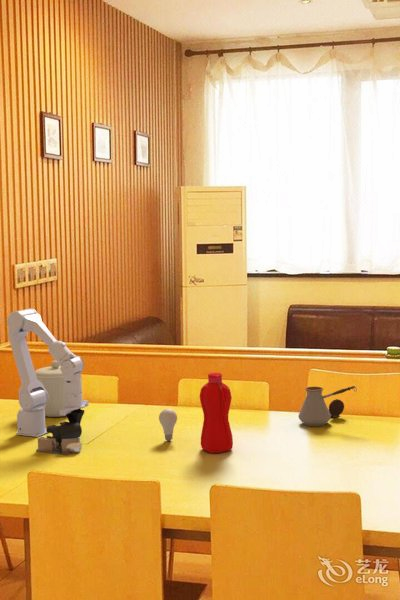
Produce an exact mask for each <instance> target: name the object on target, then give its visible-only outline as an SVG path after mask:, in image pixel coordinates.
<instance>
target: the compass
mask: <svg viewBox="0 0 400 600" xmlns="http://www.w3.org/2000/svg"><path fill="white" fill-rule="evenodd" d="M328 410H329V412H330V415H331V418H330V419H334V418H338V417H340V415H341V414H342V413H343V412H344V410H345V403H344V402H343V400H341V399H338V398H335V399H333V400H331V402H330V403H329V406H328Z"/></svg>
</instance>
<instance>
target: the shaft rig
mask: <svg viewBox="0 0 400 600" xmlns="http://www.w3.org/2000/svg"><path fill="white" fill-rule="evenodd" d="M58 445H59V441H58V439H57V438H47V437H44V436H40V437H37V448H36V450H35V451H36V452H39V453H40V452H41V453H46V454H47V453H48V454H54V455H55V454H56V455H57V454H58V455H64V456H68V455H70V454H77V453H78V454H79V453H81V451H82V446H83V445H82V442H81V437H79V438H72V439H62V443H61V445H60V447H59V446H58Z"/></svg>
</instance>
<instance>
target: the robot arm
mask: <svg viewBox="0 0 400 600" xmlns="http://www.w3.org/2000/svg"><path fill="white" fill-rule="evenodd" d="M6 323H7V326H8V327H7V328H8V330H7V335H8V336H7V337H8V340H9V344H10V347H11V351H12V354H13V358H14V361H15V365H16V369H17V372H18V376H19V379H20V382H21V385H20V387H19V388H18V403H19V407H20V409H18V411H17V414H16V425H17V432H16V435H17V436H18V435H19V436H27V437H34V438H35V437H37V438H40V437H42V436H43V435H46V434H48V432H47V430H46V428H47V427H46V416H45V407H46V406H45V404H46V403H47V401H48V393H47V391H46V390H45V389H44V386H43V384H42V383H41V382H40V381H38V380H37V378H36V374H35V371H36V370H35V367H34V364H33V361H32V357H31V353H30V350H29V349H30V348H29V346H28V343H27V340H26V337H27V335H28V333H29V332H33V333H34V334H35V335H36V336H37V337H38V338H40V340H41V341H42V342H43V343H44V344H45V345H46V346H48V353H49V354H50V355H51V357H53V359H54V361H55V360H56V361H57V362H58V363H59V364H60V366H61V367H60V369H61V372H62V374H63V376H64V380H65V399H66V405H65V406H64V407H63V408H62V409H60V415H62V417H66V418H67V420H68V422H72V421H77V422H78V423H79V424H80V425H81V422H82V418H83V416H84V415H85V410H84V408H86V407H89V400H85V399H83V385H82V372H83V371H84V368H85V363H84V360H83V359H82V357H81V356H79V355H76V354H75V353H73V352H72V351H71V350H70V349H69V348H68V346H67V344H66V343H65V341H61V340H57V339H56V337H55V336H54V335H53V334H52V333H51V331H50V330H49V329H48V327H47V326H46V324H45V323H44V322H43V321H42V317H41V315H40V314H39V313H38V312H37V311H36V309H35V308H32V307H31V308H30V307H29V308H25V309H20V310H13V311H11V312H10V314H9V315H8V316H7V318H6ZM65 415H66V416H65Z"/></svg>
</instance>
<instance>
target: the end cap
mask: <svg viewBox="0 0 400 600" xmlns="http://www.w3.org/2000/svg"><path fill="white" fill-rule="evenodd" d="M82 429H83V428H82V425H81V423H80V424H79V423H78V422H77V421H72V422H69V421H64V420H63V422H62V421H61V422H59V424H58V425H55V424H52V425H48V426H47V427H46V430H47V432H48V433H49V434H51V435H52V436H51V435H46V438H57V439H58V441H59V445H58V446H57V447H61V443H62V439H72V438H81V437H82V432H83V431H82ZM48 433H47V434H48Z"/></svg>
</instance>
